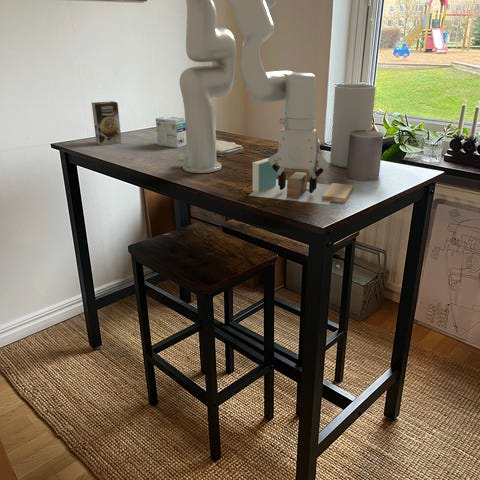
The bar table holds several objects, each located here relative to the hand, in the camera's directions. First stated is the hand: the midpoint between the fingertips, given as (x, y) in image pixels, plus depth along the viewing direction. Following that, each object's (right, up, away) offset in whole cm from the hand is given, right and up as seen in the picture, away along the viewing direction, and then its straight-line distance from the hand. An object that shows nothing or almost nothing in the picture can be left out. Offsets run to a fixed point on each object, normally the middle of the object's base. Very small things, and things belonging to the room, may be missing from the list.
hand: (297, 189), depth 129 cm
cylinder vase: (+21, +12, +31) cm, 40 cm away
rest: (+11, -2, 0) cm, 11 cm away
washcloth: (-24, +20, +52) cm, 60 cm away
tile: (-9, +1, +6) cm, 10 cm away
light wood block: (+1, 0, +3) cm, 3 cm away
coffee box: (-69, +26, +67) cm, 99 cm away
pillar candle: (+22, +5, +15) cm, 27 cm away
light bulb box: (-42, +24, +61) cm, 78 cm away
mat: (0, 0, +4) cm, 4 cm away
